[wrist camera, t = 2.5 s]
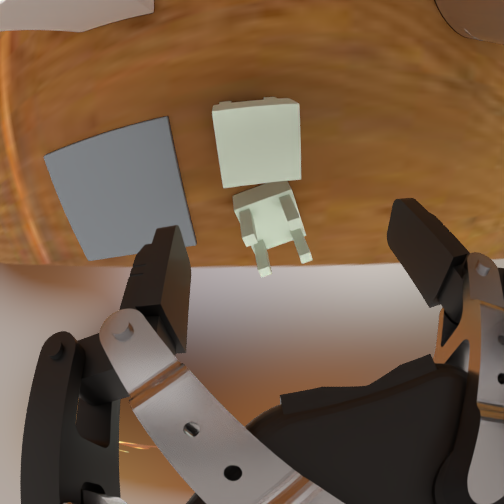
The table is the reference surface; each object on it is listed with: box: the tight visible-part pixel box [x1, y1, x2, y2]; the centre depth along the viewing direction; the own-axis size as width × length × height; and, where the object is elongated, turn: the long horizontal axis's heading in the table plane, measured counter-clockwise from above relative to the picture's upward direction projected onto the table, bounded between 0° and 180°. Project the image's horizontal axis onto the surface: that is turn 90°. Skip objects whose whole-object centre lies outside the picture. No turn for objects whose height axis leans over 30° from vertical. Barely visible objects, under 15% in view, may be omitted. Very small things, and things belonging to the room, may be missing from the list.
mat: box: [44, 116, 197, 261], centre depth 25 cm, size 14×14×1 cm
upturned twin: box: [233, 181, 312, 277], centre depth 26 cm, size 6×6×7 cm
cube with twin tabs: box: [212, 97, 301, 188], centre depth 20 cm, size 6×6×7 cm
